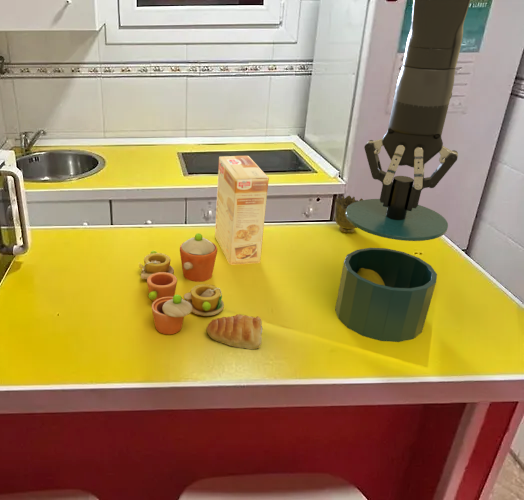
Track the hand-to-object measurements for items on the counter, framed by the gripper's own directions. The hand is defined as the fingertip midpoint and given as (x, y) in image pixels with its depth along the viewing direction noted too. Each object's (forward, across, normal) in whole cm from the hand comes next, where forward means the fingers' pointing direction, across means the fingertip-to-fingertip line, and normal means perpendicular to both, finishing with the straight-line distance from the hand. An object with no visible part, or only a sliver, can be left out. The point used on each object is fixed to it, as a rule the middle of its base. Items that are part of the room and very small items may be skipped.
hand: (397, 206), depth 84 cm
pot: (+21, +1, -1) cm, 21 cm away
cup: (+21, -11, +33) cm, 41 cm away
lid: (+2, 0, 0) cm, 2 cm away
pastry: (+21, -19, -18) cm, 34 cm away
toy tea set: (+21, -33, -11) cm, 41 cm away
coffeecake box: (+21, -31, +12) cm, 40 cm away
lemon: (+20, 0, -1) cm, 20 cm away
